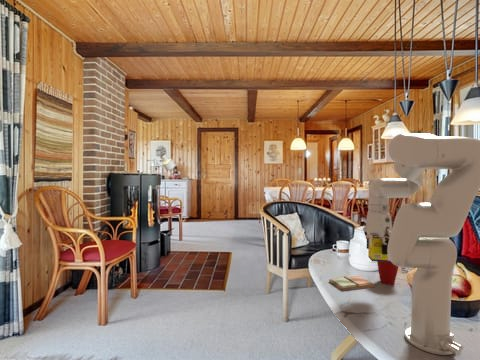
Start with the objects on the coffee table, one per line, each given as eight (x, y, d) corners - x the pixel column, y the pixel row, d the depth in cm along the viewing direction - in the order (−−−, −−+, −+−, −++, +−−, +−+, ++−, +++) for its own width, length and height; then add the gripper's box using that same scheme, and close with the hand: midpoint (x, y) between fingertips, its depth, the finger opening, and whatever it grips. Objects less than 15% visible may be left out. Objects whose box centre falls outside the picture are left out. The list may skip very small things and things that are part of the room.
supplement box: (387, 262, 113) (388, 235, 113) (371, 261, 114) (372, 234, 114) (383, 258, 119) (383, 232, 118) (368, 257, 120) (368, 231, 120)
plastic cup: (406, 287, 124) (407, 259, 123) (382, 286, 124) (382, 259, 123) (393, 277, 135) (393, 252, 134) (370, 277, 135) (371, 252, 134)
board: (374, 286, 124) (374, 282, 124) (342, 290, 119) (343, 286, 119) (358, 278, 133) (359, 274, 133) (329, 281, 129) (329, 277, 129)
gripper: (403, 211, 109) (402, 256, 109) (370, 206, 125) (370, 245, 126) (387, 211, 107) (386, 258, 107) (356, 206, 123) (355, 246, 124)
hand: (377, 251), depth 116 cm, fingers closed on supplement box, 8 cm apart
